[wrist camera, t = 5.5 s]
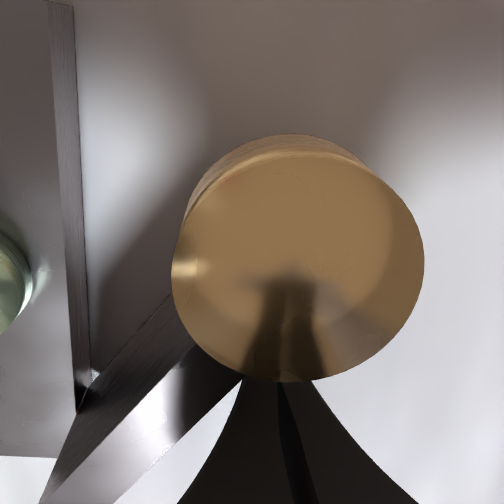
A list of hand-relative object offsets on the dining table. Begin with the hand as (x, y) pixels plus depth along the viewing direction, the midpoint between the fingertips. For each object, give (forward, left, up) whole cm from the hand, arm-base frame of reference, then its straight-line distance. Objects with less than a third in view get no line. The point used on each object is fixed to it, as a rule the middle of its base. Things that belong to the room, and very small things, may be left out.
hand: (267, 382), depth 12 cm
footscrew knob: (+2, +2, -1) cm, 3 cm away
